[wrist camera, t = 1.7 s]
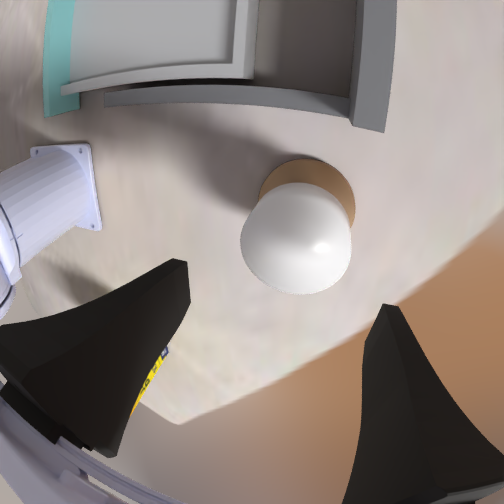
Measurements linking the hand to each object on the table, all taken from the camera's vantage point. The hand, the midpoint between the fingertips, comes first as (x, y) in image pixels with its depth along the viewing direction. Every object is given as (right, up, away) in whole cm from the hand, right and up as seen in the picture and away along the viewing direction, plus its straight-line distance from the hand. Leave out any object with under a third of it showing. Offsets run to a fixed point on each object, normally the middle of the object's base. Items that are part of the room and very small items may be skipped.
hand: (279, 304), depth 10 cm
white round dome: (+1, +3, +5) cm, 6 cm away
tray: (-8, +19, +2) cm, 21 cm away
